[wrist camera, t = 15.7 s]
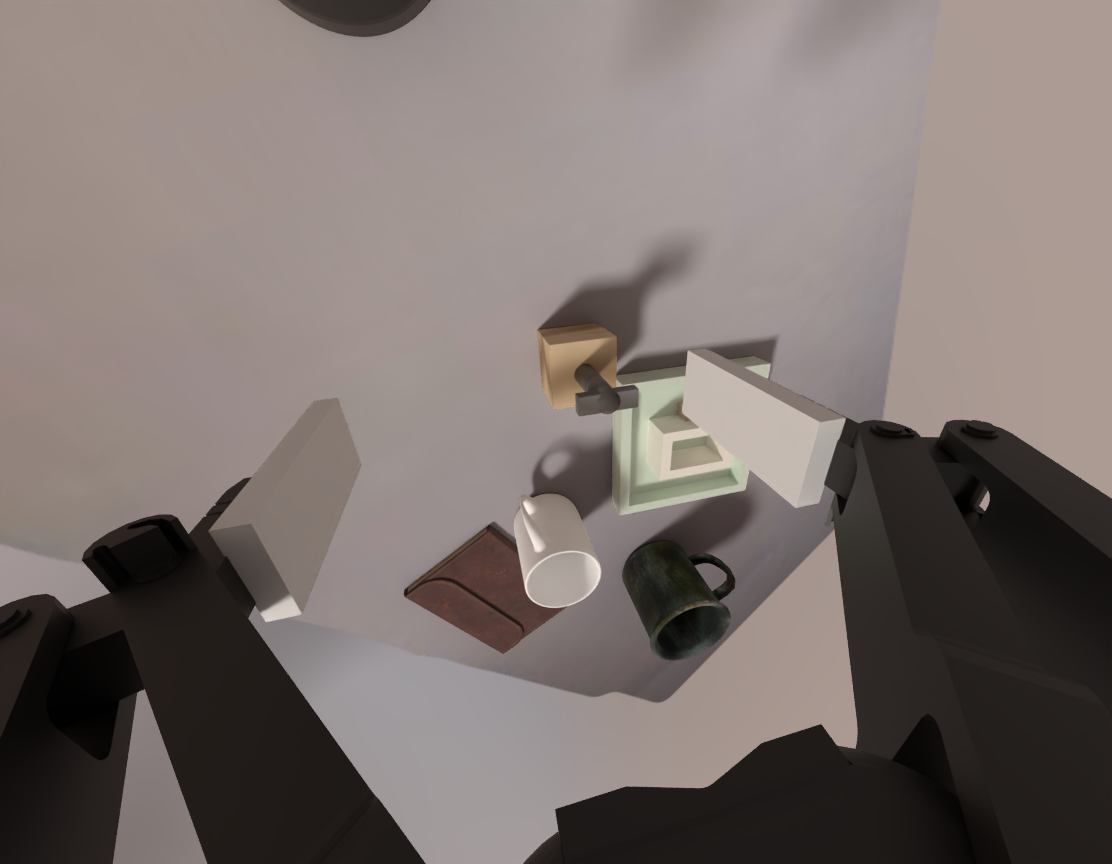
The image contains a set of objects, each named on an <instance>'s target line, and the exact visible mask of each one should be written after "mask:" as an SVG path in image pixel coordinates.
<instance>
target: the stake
mask: <svg viewBox="0 0 1112 864" xmlns="http://www.w3.org/2000/svg"><path fill="white" fill-rule="evenodd" d="M538 341H539V353H540V365H541V376H542V388H543V390H544V392H545V393H546V395H547V397H548V399H549V401H550V403H551V405H552V407H553V409H561V408H567V407H574V406H576V412H577V414H578V415H579V416H585V415H592V414H598V413H603V414H611V413H613V412H615V411H617V410H623V409H630V408H636V407H638V397H639V389H638V388H637V387H636V386H635V385H628V386H621V387H616V366H617V337H616V336H615V335H614V334H612V333H611V332H609V331H608V330H606V329H605V328H604V327H602V326H601V325H599V324H598V323H591V324H583V325H575V326H566V327H558V328H549V329H541V330H538Z"/></svg>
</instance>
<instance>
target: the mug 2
mask: <svg viewBox="0 0 1112 864" xmlns="http://www.w3.org/2000/svg"><path fill="white" fill-rule="evenodd" d="M702 563H710V564H713V565H715V566H717V567H719V568H720V569H722V570H723V571H724V572H725V573H726V574H727V580H726V581H725V582H724V583H723V584H722V585H721V586H720V587H718V588H717V589H715V590H714V591H711V589H710V588H709V587H708V585H707V584H706V582H705V581H704V579H703V578H702V576H701V575H700V574H699V572H698V571H697V569H696V568H695V565H698V564H702ZM622 578H623V582H624V584H625V586H626V588H627V591H628V593H629V595H630V597H631V599H632V601H633V603H634V606H635V608H636V610H637V612H638V614H639V616H640V618H641V621H642V623H643V625H644V627H645V629H646V631H647V633H648V636H649V638H650V647H651V650H652V652H653V653H654V654H655V655H656V656H657V657H658V658H661V659H664V660H682V659H686V658H690V657H693V656H695V655H697V654H700V653H702V652H703V651H705V650H707V649H708V648H710V647H711V646H713V645H714V644H715V643H716V642H717V641H718V640H719V639H720V638H721V637H722V636H723V635H724V633H725V632H726V630H727V629H728V626H729V624H730V620H731V616H730V612H729V610H728V608H727V607H726V606H725V605H724V604H722V603H721V602H719V600H721V599H722V598H724V597H725V596H727V595H728V594H729V593H730V592H731V591H732V590H733V589H734V588H735V578H734V576H733V574H732V572H731V570H730V569H729V567H728V566H726V565H725V564H724V563H723V562H722V561H721V560H720V559H718V558H716V557H714V556H713V555H710V554H706V553H704V554H696V555H693V556H690V557H688V556H687V555H686V553H685V552H684V551H683V549H682V548H681V547H680V546H678V545H677V544H674V543H671V542H667V541H659V542H653V543H650V544H647V545H645V546H643V547H641V548H640V549H638V550H637V551H636V552H634V553H633V554H632V555H631V556H630V557H629V559H628V560H627V562H626V563H625V566H624V569H623V573H622Z"/></svg>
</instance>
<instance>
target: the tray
mask: <svg viewBox="0 0 1112 864" xmlns="http://www.w3.org/2000/svg"><path fill="white" fill-rule="evenodd" d="M729 360H730V361H733V362H735V363H737V364H739V365H741V366H743V367H745V368H747V369H749V370H751V371H753V372H755V373H757V374H759V375H761V376H763V377H765V378H767V379H768V376H769V371H770V366H771V363H769V362H767V361H764V360H762V359H760V358H758V357H755V356H750V357H743V358H736V359H729ZM685 375H686V366H680V367H673V368H665V369H658V370H651V371H644V372H637V373H630V374H623V375H616V387H621V386H628V385H635V386H636V387H637V388H638V389H639V397H638V407H636V408H630V409H623V410H617V411H615V412H613V441H612V502H613V504H614V506H615V507H616V509H617V511H618V513H619V514H620V515H625V514H630V513H635V512H640V511H645V510H650V509H655V508H659V507H664V506H669V505H674V504H679V503H684V502H689V501H694V500H699V499H704V498H709V497H714V496H719V495H724V494H729V493H734V492H739V491H743V490H745V489H746V484H747V479H748V474H749V468H747V467H746V466H745V465H744V464H743V463H741V462H740V461H739V460H738V459H737V458H735V457H734V456H733V458H732V464H731V467H730V468H724V469H719V470H714V471H709V472H703V473H698V474H693V475H688V476H683V477H677V478H672V479H667V480H662V481H660V480H659V479H658V478H657V476H656V475H655V474H654V472H653V471H652V470H651V469H650V467H649V466H648V465H647V464H646V459H647V441H648V422H649V419H651V418H657V417H664V416H670V415H676V414H677V409H678V402H683V396H684V385H685ZM706 438H707V436H702V437H696V438H690V439H685V440H679V441H673V444H672V451H674V450H680V449H686V448H691V447H697V446H702V445H706Z"/></svg>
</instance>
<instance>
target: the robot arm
mask: <svg viewBox="0 0 1112 864" xmlns="http://www.w3.org/2000/svg"><path fill="white" fill-rule="evenodd" d="M279 1H280V2H281V3H283V4H284V5H285V6H286V7H288V8H289V9H290V10H292V11H293V12H295V13H296V14H298V15H299V16H301V17H302V18H304V19H306V20H308V21H309V22H311V23H313V24H315V25H317V26H319V27H322V28H324V29H327V30H329V31H333V32H336V33H339V34H344V35H349V36H359V37H368V36H377V35H382V34H386V33H389V32H392V31H394V30H396V29H398V28H400V27H402V26H404V25H405V24H407V23H408V22H410V21H411V20H412V19H413V18H415V17H416V16H417V15H418V14H419V13H420V12H421V11H422V9H423V8H424V7H425V6H426V5H427V3H428V2H429V0H279ZM682 413H683V414H684V415H685V416H686V417H687V418H689V419H690V420H691V421H692V422H693V423H695V424H696V425H697V426H698V427H699V428H701V429H702V430H703V431H704V432H705V433H707V434H708V435H709V436H710V437H711V438H713V439H714V440H715V441H716V442H717V443H719V444H720V445H721V446H722V447H723V448H725V449H726V450H727V451H728V452H729V453H731V454H732V455H733V456H734V457H735V458H737V459H738V460H739V461H740V462H741V463H743V464H744V465H745V466H746V467H747V468H749V469H750V470H751V471H752V472H753V473H755V474H756V475H757V476H758V477H759V478H761V479H762V480H763V481H764V482H765V483H766V484H768V485H769V486H770V487H771V488H772V489H774V490H775V491H776V492H777V493H778V494H780V495H781V496H782V497H783V498H784V499H786V500H787V501H788V502H789V503H790V504H792V505H793V506H794V507H795V508H798V507H803V506H807V505H812V504H816V503H819V501H820V498H821V495H822V492H823V489H824V486H825V485H826V486H827V487H829V488H830V489H832V490H833V491H834V492H836V493H835V496H834V498H833V501H832V504H831V507H830V510H829V513H828V516H827V519H826V522H825V525H827V526H829V525H830V523H831V521H834V528H835V537H836V545H837V553H838V562H839V571H840V580H841V588H842V597H843V605H844V614H845V622H846V630H847V640H848V648H849V657H850V665H851V674H852V682H853V691H854V699H855V708H856V717H857V727H858V737H857V745H856V749H853V748H847V747H842V746H837V745H836V744H835V742H834V741H833V740H832V738H831V737H830V736H829V734H828V733H827V731H826V730H825V729H824V727H823V726H822V725H817V726H814V727H811V728H808V729H805V730H801V731H799V732H796V733H792V734H789V735H786V736H783V737H780V738H776V739H773V740H770V741H767V742H764V743H761V744H760V745H759V746H758V747H757V748H756V749H754V750H753V751H752V752H750V754H748V755H747V756H746V757H745V758H743V759H742V760H741V761H740V762H739V763H737V764H736V765H735V766H734V767H732V768H731V769H730V770H729V771H728V772H726V773H725V774H724V775H723V776H722V777H720V778H719V779H718V780H717V781H715V782H714V783H713V784H712V785H710V786H708V787H705V788H662V787H623V788H620V789H617V790H614V791H611V792H608V793H605V794H601V795H598V796H595V797H592V798H589V799H586V800H583V801H580V802H576V803H574V804H570V805H567V806H564V807H561V808H558V809H555V811H556V818H557V824H558V830H559V833H558V832H557V833H556V834H554V835H553V836H552V837H550V838H549V839H548V840H546V841H545V842H544V843H542V844H541V846H540V847H539V848H538V849H536V851H535V852H534V853H533V854H532V855H531V856H530V857H529V858H528V859H527V860H526V861H525V862H524V863H523V864H1112V499H1111V498H1110V497H1108V496H1107V495H1105V494H1104V493H1102V492H1100V491H1099V490H1098V489H1096V488H1094V487H1093V486H1091V485H1090V484H1088V483H1087V482H1085V481H1084V480H1082V479H1081V478H1079V477H1078V476H1076V475H1075V474H1073V473H1071V472H1070V471H1068V470H1067V469H1065V468H1064V467H1062V466H1061V465H1059V464H1058V463H1056V462H1055V461H1053V460H1052V459H1050V458H1048V457H1047V456H1045V455H1044V454H1042V453H1041V452H1039V451H1037V450H1036V449H1034V448H1033V447H1032V446H1030V445H1029V444H1027V443H1025V442H1024V441H1022V440H1021V439H1019V438H1018V437H1016V436H1015V435H1013V434H1012V433H1010V432H1008V431H1006V430H1004V429H1002V428H999V427H996V426H993V425H992V424H990V423H987V422H981V421H977V420H972V421H968V420H952V421H949V422H946V424H945V426H944V428H943V430H942V432H941V434H940V437H920V435H919V434H918V433H917V432H916V431H914V430H912V429H911V428H908V427H906V426H903V425H900V424H896V423H893V422H887V421H877V420H870V421H864V422H861V423H857V422H855V421H853V420H851V419H848V418H846V417H844V416H842V415H840V414H838V413H836V412H834V411H832V410H830V409H828V408H825V407H824V406H822V405H820V404H818V403H815V402H814V401H812V400H810V399H808V398H806V397H804V396H802V395H799V394H797V393H795V392H793V391H791V390H789V389H787V388H785V387H783V386H781V385H779V384H777V383H775V382H773V381H771V380H769V379H767V378H765V377H763V376H761V375H759V374H757V373H755V372H753V371H751V370H749V369H747V368H745V367H743V366H741V365H739V364H737V363H735V362H733V361H730V360H728V359H726V358H724V357H722V356H720V355H718V354H716V353H714V352H712V351H710V350H708V349H706V348H702V349H695V350H688V355H687V365H686V375H685V385H684V396H683V406H682ZM360 467H361V462H360V459H359V456H358V453H357V451H356V448H355V445H354V442H353V439H352V437H351V434H350V431H349V428H348V425H347V422H346V420H345V417H344V414H343V411H342V408H341V406H340V403H339V400H338V398H333V399H325V400H318V401H314V402H313V403H312V404H311V405H310V407H309V408H308V409H307V410H306V411H305V413H304V414H303V415H302V416H301V418H300V419H299V420H298V421H297V423H296V424H295V425H294V426H293V427H292V429H291V430H290V431H289V432H288V434H287V435H286V436H285V437H284V439H283V440H282V441H281V442H280V443H279V445H278V446H277V447H276V448H275V450H274V451H273V452H272V453H271V455H270V456H269V457H268V458H267V459H266V461H265V462H264V463H263V464H262V466H261V467H260V468H259V469H258V471H257V472H256V473H255V474H254V475H253V477H250V478H244V479H243V480H241V481H240V482H238V483H237V484H236V485H234V486H233V487H231V488H230V489H228V490H227V491H226V492H225V493H224V494H223V495H222V497H221V498H220V499H219V500H218V501H217V502H216V503H215V504H216V506H213V507H212V508H211V509H210V510H209V512H208V513H207V514H206V517H203V518H202V520H201V521H200V522H199V523H198V524H197V525H196V526H195V528H194V529H193V530H192V531H191V532H190V533H189V534H188V533H187V531H186V530H185V528H184V527H183V525H182V524H181V522H180V521H179V519H178V518H177V517H175V516H173V515H155V516H151V517H146V518H142V519H139V520H137V521H134V522H131V523H128V524H126V525H124V526H122V527H120V528H118V529H115V530H113V531H111V532H109V533H108V534H106V535H105V536H103V537H102V538H100V539H99V540H97V541H96V542H94V543H93V544H92V545H91V546H90V547H89V548H88V549H87V550H86V551H85V552H84V555H83V558H82V561H83V562H84V563H85V564H86V566H87V567H88V568H89V569H90V570H91V571H92V572H93V574H94V575H95V576H96V577H97V578H98V579H99V580H100V582H101V583H102V584H103V585H104V586H105V587H106V588H107V589H108V590H109V592H110V593H109V594H107V595H104V596H101V597H99V598H96V599H93V600H90V601H87V602H85V603H82V604H79V605H76V606H74V607H71V608H69V609H66V608H65V607H64V606H63V605H62V604H61V603H60V602H59V601H58V600H57V599H56V598H55V597H54V596H50V595H48V594H42V595H33V596H29V597H26V598H23V599H19V600H16V601H13V602H10V603H8V604H6V605H4V606H2V607H0V864H113V857H114V850H115V843H116V835H117V829H118V822H119V815H120V808H121V801H122V794H123V787H124V780H125V774H126V766H127V759H128V752H129V746H130V738H131V732H132V724H133V718H134V710H135V704H136V697H137V692H139V691H141V690H144V689H145V691H146V693H147V696H148V699H149V702H150V705H151V708H152V710H153V713H154V716H155V719H156V721H157V724H158V727H159V730H160V733H161V735H162V738H163V741H164V744H165V747H166V749H167V752H168V755H169V758H170V760H171V763H172V766H173V769H174V772H175V774H176V777H177V780H178V783H179V785H180V788H181V791H182V794H183V797H184V799H185V802H186V805H187V808H188V810H189V813H190V816H191V819H192V822H193V824H194V827H195V830H196V833H197V836H198V838H199V841H200V844H201V847H202V850H203V853H204V855H205V858H206V861H207V864H425V862H424V861H423V859H422V858H421V857H420V855H419V854H418V852H417V851H416V850H415V848H414V847H413V845H412V844H411V843H410V841H409V840H408V839H407V837H406V836H405V835H404V833H403V832H402V830H401V829H400V827H399V826H398V825H397V823H396V822H395V820H394V819H393V818H392V816H391V815H390V814H389V812H388V811H387V810H386V808H385V807H384V806H383V804H382V803H381V802H380V800H379V799H378V798H377V797H376V796H375V795H374V794H373V792H372V791H371V790H370V788H369V787H368V785H367V784H366V783H365V781H364V780H363V778H362V777H361V776H360V774H359V773H358V772H357V770H356V769H355V767H354V766H353V764H352V763H351V762H350V760H349V759H348V758H347V756H346V755H345V753H344V752H343V751H342V749H341V748H340V746H339V745H338V744H337V742H336V741H335V739H334V738H333V736H332V735H331V734H330V732H329V731H328V730H327V728H326V727H325V726H324V724H323V723H322V721H321V720H320V718H319V717H318V716H317V714H316V713H315V712H314V710H313V709H312V707H311V706H310V705H309V703H308V702H307V700H306V699H305V697H304V696H303V695H302V693H301V692H300V691H299V689H298V688H297V686H296V685H295V683H294V682H293V681H292V679H291V678H290V676H289V675H288V674H287V672H286V671H285V669H284V668H283V667H282V665H281V664H280V663H279V661H278V660H277V658H276V657H275V656H274V654H273V653H272V651H271V650H270V648H269V647H268V646H267V644H266V643H265V641H264V640H263V639H262V637H261V636H260V634H259V633H258V632H257V630H256V629H255V628H254V626H253V625H252V624H251V622H250V621H249V619H248V618H249V616H250V614H251V612H252V610H253V608H254V606H255V605H256V607H257V609H258V610H259V612H260V613H261V615H262V616H263V618H264V620H265V621H266V622H269V621H273V620H278V619H282V618H287V617H292V616H297V615H301V614H302V613H303V611H304V608H305V606H306V603H307V601H308V598H309V595H310V593H311V590H312V588H313V585H314V583H315V580H316V578H317V575H318V573H319V570H320V568H321V565H322V563H323V560H324V558H325V555H326V553H327V550H328V548H329V545H330V543H331V540H332V538H333V535H334V533H335V530H336V528H337V525H338V523H339V520H340V518H341V515H342V513H343V510H344V508H345V505H346V503H347V500H348V498H349V495H350V493H351V490H352V487H353V485H354V482H355V480H356V477H357V475H358V472H359V470H360ZM987 491H989V494H990V502H989V505H988V507H987V509H986V511H984V510H983V509H982V508H981V507H980V506H979V505H980V503H981V502H982V500H983V498H984V496H985V494H986V493H987ZM559 837H560V838H559Z"/></svg>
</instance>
